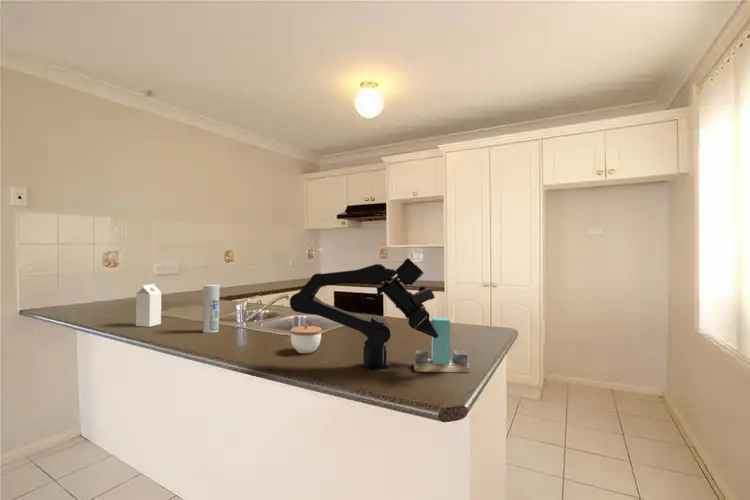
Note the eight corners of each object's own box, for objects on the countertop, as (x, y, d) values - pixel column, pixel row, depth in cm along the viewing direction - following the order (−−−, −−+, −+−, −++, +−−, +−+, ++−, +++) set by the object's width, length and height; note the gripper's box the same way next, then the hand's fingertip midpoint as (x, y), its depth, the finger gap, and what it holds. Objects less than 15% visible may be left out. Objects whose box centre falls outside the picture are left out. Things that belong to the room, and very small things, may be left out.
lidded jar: (327, 350, 131) (327, 323, 131) (305, 357, 122) (305, 328, 122) (306, 345, 137) (306, 320, 137) (283, 351, 128) (284, 324, 129)
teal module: (432, 363, 110) (433, 320, 110) (431, 359, 114) (431, 317, 114) (449, 364, 109) (450, 320, 110) (447, 360, 114) (448, 317, 114)
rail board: (414, 371, 109) (414, 354, 109) (413, 364, 116) (413, 348, 116) (469, 372, 108) (469, 355, 108) (464, 365, 115) (465, 349, 115)
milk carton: (135, 326, 168) (136, 284, 169) (147, 323, 175) (148, 283, 176) (149, 327, 167) (150, 285, 167) (161, 324, 174) (161, 283, 174)
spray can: (208, 329, 163) (209, 284, 164) (222, 330, 162) (222, 284, 162) (199, 332, 157) (199, 285, 157) (212, 333, 156) (213, 285, 156)
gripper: (421, 280, 103) (460, 321, 102) (417, 276, 122) (450, 310, 121) (392, 307, 103) (431, 348, 103) (392, 299, 122) (425, 333, 121)
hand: (435, 333), depth 112 cm, fingers open, 9 cm apart
